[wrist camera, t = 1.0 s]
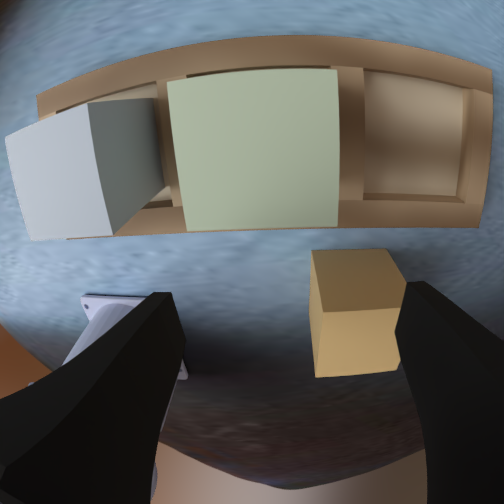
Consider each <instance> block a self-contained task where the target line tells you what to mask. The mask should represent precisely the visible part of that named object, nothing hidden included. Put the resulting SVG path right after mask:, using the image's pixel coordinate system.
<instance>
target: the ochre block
mask: <svg viewBox="0 0 504 504" xmlns="http://www.w3.org/2000/svg"><path fill="white" fill-rule="evenodd" d="M406 284H407V283H406V281H405V279H404V277H403V276H402V274H401V272H400V271H399V269H398V267H397V266H396V264H395V262H394V261H393V259H392V258H391V256H390V254H389V253H388V251H387V250H386V249H348V250H311V276H310V298H309V318H310V327H311V337H312V346H313V356H314V367H315V377H332V376H346V375H357V374H367V373H376V372H384V371H392V370H396V369H397V367H398V364H399V362H400V360H401V359H400V355H399V351H398V347H397V342H396V337H395V333H394V331H395V327H396V324H397V320H398V316H399V313H400V309H401V305H402V301H403V297H404V292H405V288H406Z"/></svg>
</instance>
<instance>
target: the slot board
mask: <svg viewBox="0 0 504 504" xmlns="http://www.w3.org/2000/svg"><path fill="white" fill-rule="evenodd" d="M272 69H331V70H337V78H338V99H339V142H340V159H339V203H338V225H337V227H296V228H261V229H231V230H206V231H187V228H186V222H185V216H184V210H183V204H182V198H181V192H180V185H179V179H178V172H177V165H176V158H175V151H174V143H173V135H172V127H171V119H170V110H169V100H168V90H167V82H170V81H175V80H181V79H187V78H193V77H199V76H206V75H214V74H222V73H231V72H242V71H254V70H272ZM36 97H37V107H38V116H39V121H41V120H43V119H46V118H48V117H51V116H53V115H56V114H58V113H61V112H63V111H66V110H69V109H72V108H74V107H77V106H80V105H83V104H86V103H92V102H101V101H111V100H123V99H139V98H153V103H154V112H155V120H156V128H157V136H158V143H159V150H160V157H161V164H162V170H163V176H164V182H165V188H164V189H163V190H162V191H160V192H159V193H158V194H157V195H156V196H155V197H154V198H153V199H151V200H150V201H149V202H148V203H147V204H146V205H145V206H144V207H143V208H141V209H140V210H139V211H138V212H137V213H136V214H135V215H134V216H133V217H132V218H131V219H130V220H129V221H128V222H126V223H125V224H124V225H123V226H122V227H121V228H120V229H119V230H118V231H117V232H116V233H115V234H114V235H110V236H95V237H80V238H66V239H67V240H69V239H84V238H99V237H116V236H133V235H152V234H172V233H194V232H219V231H246V230H279V229H321V228H410V227H428V228H479V224H480V220H481V215H482V210H483V205H484V199H485V193H486V187H487V180H488V173H489V165H490V155H491V144H492V126H493V83H492V70H491V69H488V68H486V67H483V66H480V65H477V64H474V63H471V62H468V61H465V60H462V59H459V58H455V57H452V56H449V55H445V54H441V53H437V52H433V51H429V50H425V49H421V48H416V47H411V46H406V45H401V44H396V43H390V42H383V41H376V40H368V39H360V38H350V37H337V36H317V35H278V36H258V37H245V38H234V39H225V40H218V41H210V42H204V43H198V44H192V45H186V46H181V47H176V48H171V49H167V50H162V51H158V52H154V53H150V54H146V55H142V56H139V57H135V58H131V59H128V60H125V61H121V62H118V63H115V64H112V65H109V66H106V67H103V68H100V69H97V70H94V71H92V72H89V73H86V74H84V75H81V76H79V77H76V78H74V79H71V80H69V81H66V82H64V83H62V84H60V85H57V86H55V87H53V88H51V89H49V90H46V91H44V92H42V93H40V94H38V95H36Z"/></svg>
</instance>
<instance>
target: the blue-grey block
mask: <svg viewBox="0 0 504 504" xmlns="http://www.w3.org/2000/svg"><path fill="white" fill-rule="evenodd" d="M5 142H6V148H7V153H8V159H9V164H10V168H11V173H12V177H13V182H14V186H15V190H16V194H17V198H18V201H19V205H20V208H21V212H22V215H23V218H24V222H25V225H26V228H27V231H28V234H29V237H30V240H31V241H40V240H53V239H66V238H80V237H95V236H110V235H114V234H115V233H116V232H117V231H118V230H119V229H120V228H121V227H122V226H123V225H124V224H125V223H126V222H128V221H129V220H130V219H131V218H132V217H133V216H134V215H135V214H136V213H137V212H138V211H139V210H140V209H141V208H143V207H144V206H145V205H146V204H147V203H148V202H149V201H150V200H151V199H153V198H154V197H155V196H156V195H157V194H158V193H159V192H160V191H162V190H163V189H164V188H165V182H164V176H163V170H162V164H161V157H160V150H159V143H158V136H157V128H156V120H155V112H154V103H153V98H139V99H123V100H111V101H101V102H92V103H86V104H83V105H80V106H77V107H74V108H72V109H69V110H66V111H63V112H61V113H58V114H56V115H53V116H51V117H48V118H46V119H43V120H41V121H39V122H36V123H34V124H32V125H30V126H27V127H25V128H23V129H21V130H19V131H17V132H15V133H13V134H11V135H9V136H7V137H5Z"/></svg>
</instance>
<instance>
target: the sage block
mask: <svg viewBox="0 0 504 504" xmlns="http://www.w3.org/2000/svg"><path fill="white" fill-rule="evenodd" d="M167 90H168V100H169V110H170V119H171V127H172V135H173V143H174V151H175V158H176V165H177V172H178V179H179V185H180V192H181V198H182V204H183V210H184V216H185V222H186V228H187V231H206V230H231V229H261V228H296V227H337V225H338V203H339V159H340V142H339V99H338V78H337V70H331V69H272V70H254V71H242V72H231V73H222V74H214V75H206V76H199V77H193V78H187V79H181V80H175V81H170V82H167Z"/></svg>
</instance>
